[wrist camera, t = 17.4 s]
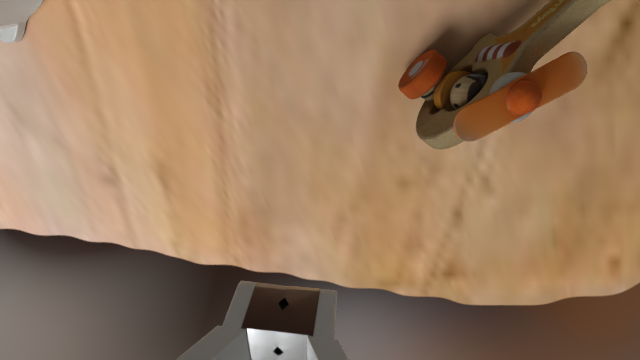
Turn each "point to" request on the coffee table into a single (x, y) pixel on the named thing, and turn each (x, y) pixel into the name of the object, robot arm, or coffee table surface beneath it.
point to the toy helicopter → (497, 77)
